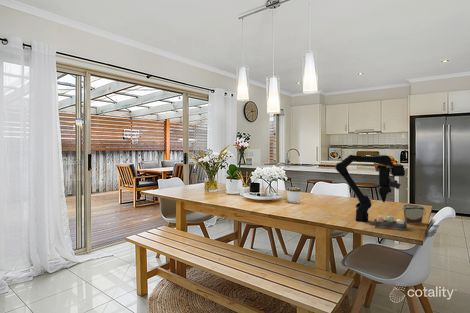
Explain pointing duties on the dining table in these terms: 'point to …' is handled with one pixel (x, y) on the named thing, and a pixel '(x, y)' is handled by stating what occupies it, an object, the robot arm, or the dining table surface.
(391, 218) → the button sage
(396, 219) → the button cream
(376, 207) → the dining table surface
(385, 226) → the button panel
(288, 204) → the dining table surface
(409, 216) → the food container
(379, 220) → the button terracotta
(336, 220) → the dining table surface
